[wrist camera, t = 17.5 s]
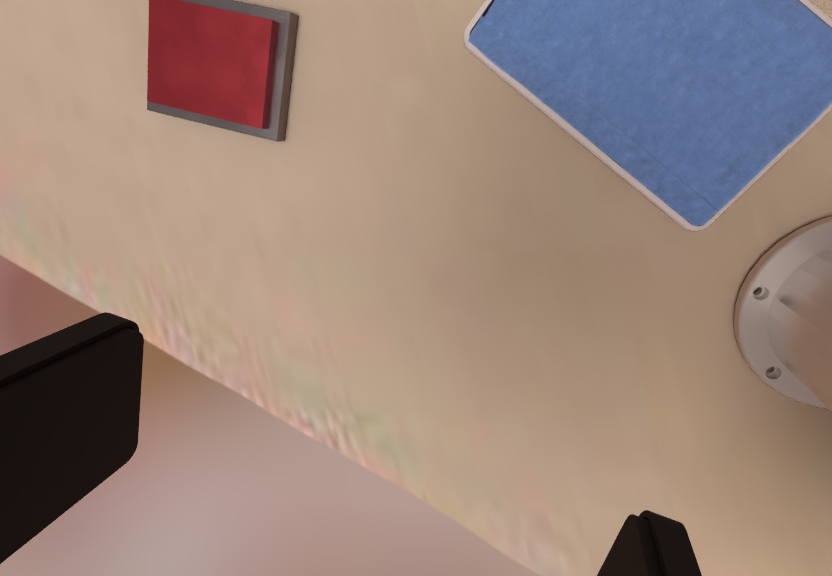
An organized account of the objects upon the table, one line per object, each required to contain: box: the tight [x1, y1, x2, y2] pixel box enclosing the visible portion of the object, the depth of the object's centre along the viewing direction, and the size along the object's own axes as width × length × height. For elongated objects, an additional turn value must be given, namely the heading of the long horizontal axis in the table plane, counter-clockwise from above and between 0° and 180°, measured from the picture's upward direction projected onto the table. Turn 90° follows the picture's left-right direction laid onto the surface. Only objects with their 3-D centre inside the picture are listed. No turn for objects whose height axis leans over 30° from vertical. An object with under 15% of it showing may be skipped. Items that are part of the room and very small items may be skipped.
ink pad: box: [147, 0, 299, 141], centre depth 34 cm, size 10×8×2 cm
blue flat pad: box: [463, 0, 832, 231], centre depth 29 cm, size 19×13×1 cm, turn 53°
